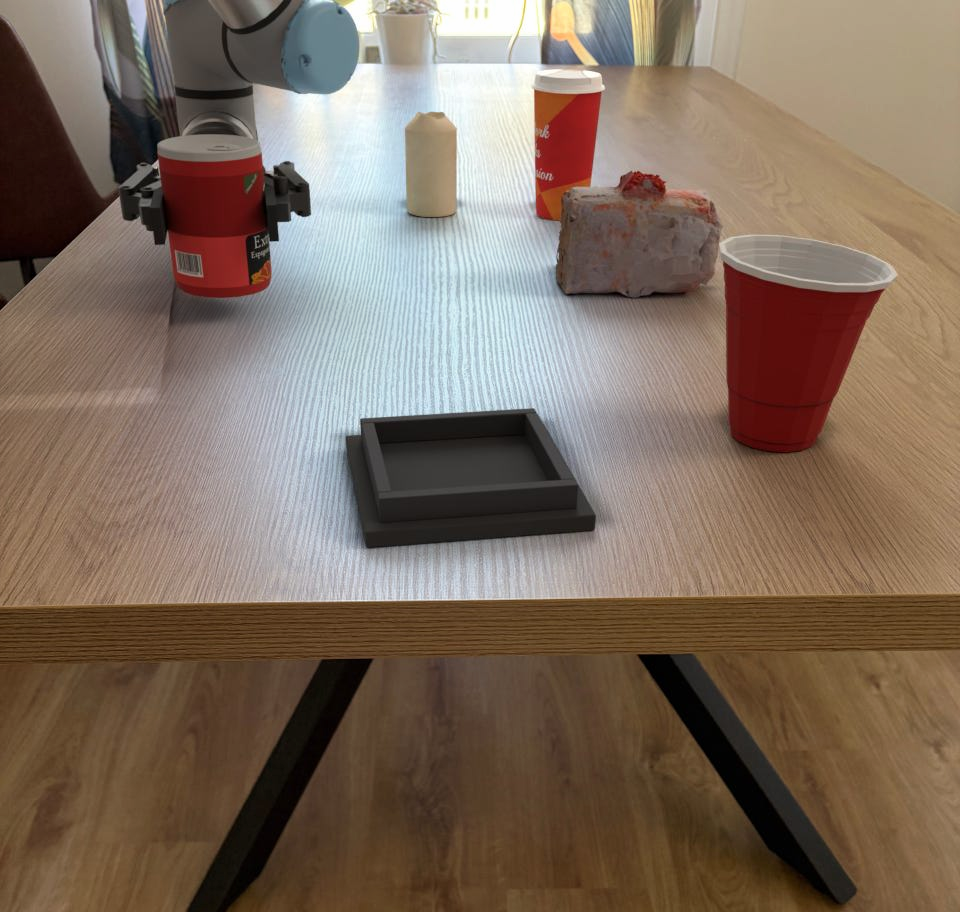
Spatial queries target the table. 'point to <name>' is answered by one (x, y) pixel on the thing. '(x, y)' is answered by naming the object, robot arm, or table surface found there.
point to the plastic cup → (792, 332)
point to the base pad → (462, 478)
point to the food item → (637, 238)
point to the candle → (431, 165)
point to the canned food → (216, 214)
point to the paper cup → (564, 134)
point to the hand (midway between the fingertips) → (215, 224)
